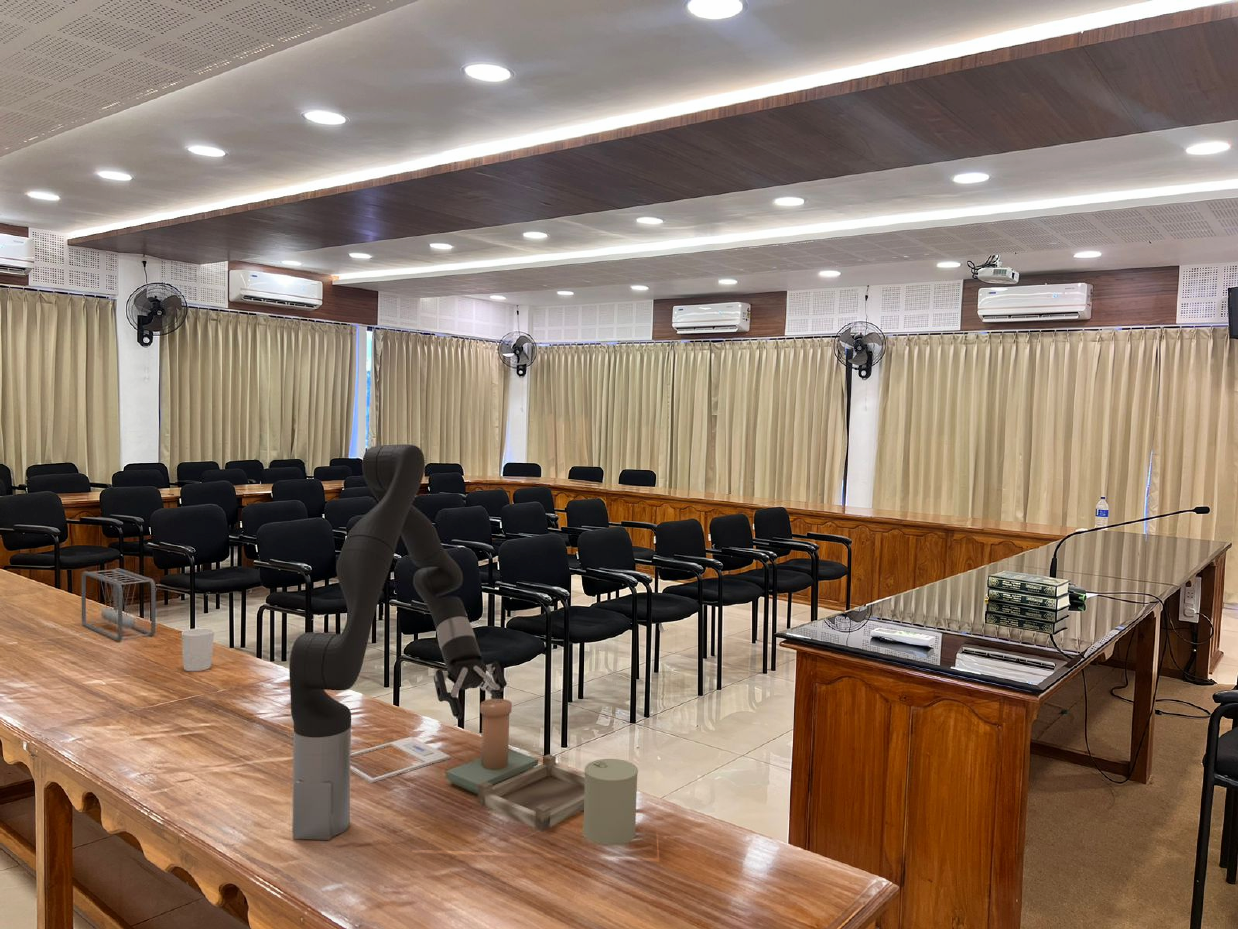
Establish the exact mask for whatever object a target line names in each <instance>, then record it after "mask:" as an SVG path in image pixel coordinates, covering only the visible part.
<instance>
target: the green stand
mask: <svg viewBox="0 0 1238 929" xmlns="http://www.w3.org/2000/svg"><path fill="white" fill-rule="evenodd" d="M537 766H539V758H535V757H533V756H531V755H527V754H524V753H521V752H518V751H516V750H513V749H511V748H509V751H508V766H507V767H505V768H502V769H497V770H491V769H486V768H483V767H482V766H481V757H479V758H476V759H473V760H471V761H469V762H466V763H464V764H461V765H459V766H455V767H453V768H450V769H448V770H446V771H445V779H449V780H450V783H451V784H453V785H455V786H458V787H460V788H462V789H464V790H465V789H466V790H467V791H470V792H472V793H475V794H477V795H478V784H480V783H482V782H485V781H487V782H489V783H492V786H494V785H496V784H498V783H501V782H503V781H505V780H508V779H510V778H512V777H514V776H517V775H519V774H521V773H524V772H526V771H528V770H531V769H533V768H535V767H537Z"/></svg>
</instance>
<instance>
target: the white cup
mask: <svg viewBox="0 0 1238 929" xmlns="http://www.w3.org/2000/svg"><path fill="white" fill-rule="evenodd" d="M214 632H215V631H214V629H212V628H205V627H204V628H203V627H199V628H190V629H186V630H183V631H182V632H181V651H182V660H183V661H182V662H183V670H184V671H187V672H200V671H206V670H209V669H210V668H212V657H213V651H214V650H213V649H214V636H215V633H214Z"/></svg>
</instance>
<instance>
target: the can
mask: <svg viewBox="0 0 1238 929" xmlns="http://www.w3.org/2000/svg"><path fill="white" fill-rule="evenodd" d="M583 769H584V774H585V794H584V810H583V825H582V835H583V836H584V838H585V839H586V840H587V841H590V842H591V843H594V844H598V845H602V846H621V845H624V844H628V843H629V842H631V841H633V840H634V839H635V838H636V836H637V834H636V832H637V830H636V827H637V826H636V822H637V821H636V820H637V818H636V817H637V816H636V815H637V795H638V794H637V791H638V773H639V768H638V767H637V765H635V764H633V763H631V762H630V761H626V760H624V759H618V758H601V759H595V760H593V761H590V762H588V763H587V764H586V765H585V767H584V768H583Z"/></svg>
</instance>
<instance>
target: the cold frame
mask: <svg viewBox="0 0 1238 929" xmlns="http://www.w3.org/2000/svg"><path fill="white" fill-rule="evenodd" d="M556 759H557V756H556V755H552V754H546V755H544V756H542V764H540V765H537V766H535V767H534V768H533V769H531V770H528V771H526V772H524V773H519V774H517V775H514V776H512V777H510V778H507V779H505V780H503V781H500V782H498V783H496V784H494V785H492V783H489V782H487V781H485V782H482V783H480V784H478V794H477V805H481V806H482V807H485V808H488V809H490V810H492V811H494V812H496V813H497V812H498V813H499V814H502V815H504V816H506V817H509V818H511V819H513V820H515V821H518V822H521V823H523V824H526V825H527V826H530V827H533V828H534V829H537V830H539V831H542V832H544V831H546V830H548V829H550V828H552V827H554V826H556V825H557V824H559V823H561V822H562V821H565V820H567V819H569V818H570V817H572V816H574V815H576V814H578V813H580V812H582V811H584V794H585V773H582V772H579V771H576V770H573V769H570V768H568V767H565V766H563V765H560V764H557V762H556ZM578 772H579V773H578Z"/></svg>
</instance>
